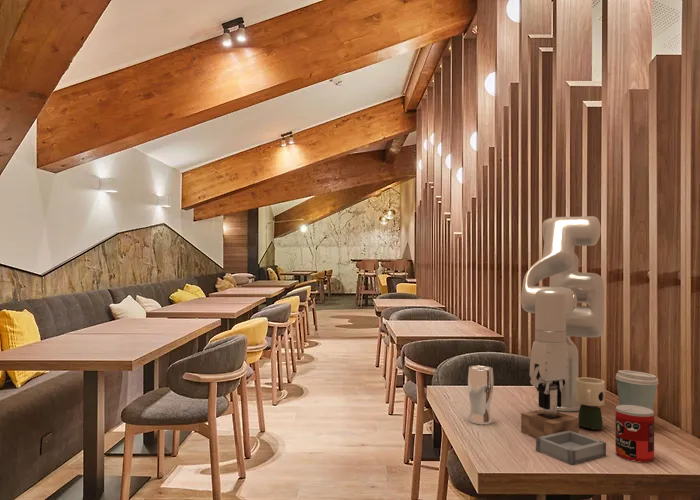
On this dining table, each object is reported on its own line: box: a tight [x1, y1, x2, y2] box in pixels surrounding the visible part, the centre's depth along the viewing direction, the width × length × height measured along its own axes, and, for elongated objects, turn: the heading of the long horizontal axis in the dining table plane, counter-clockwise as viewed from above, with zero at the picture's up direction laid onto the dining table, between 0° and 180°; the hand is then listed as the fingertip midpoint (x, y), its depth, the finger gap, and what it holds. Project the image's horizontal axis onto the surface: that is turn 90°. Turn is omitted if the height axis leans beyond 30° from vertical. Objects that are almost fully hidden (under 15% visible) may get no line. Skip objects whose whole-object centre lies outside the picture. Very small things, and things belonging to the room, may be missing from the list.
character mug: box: [576, 376, 606, 430], centre depth 143 cm, size 11×7×13 cm, turn 150°
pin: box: [542, 383, 558, 420], centre depth 137 cm, size 4×4×12 cm
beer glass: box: [467, 365, 494, 426], centre depth 147 cm, size 7×7×15 cm
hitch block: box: [520, 408, 580, 439], centre depth 136 cm, size 10×10×5 cm
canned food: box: [615, 404, 655, 463], centre depth 122 cm, size 8×8×11 cm
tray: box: [535, 430, 607, 466], centre depth 124 cm, size 12×10×3 cm
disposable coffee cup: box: [615, 369, 659, 410], centre depth 145 cm, size 11×11×15 cm
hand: (549, 406), depth 137 cm, fingers closed on pin, 3 cm apart
